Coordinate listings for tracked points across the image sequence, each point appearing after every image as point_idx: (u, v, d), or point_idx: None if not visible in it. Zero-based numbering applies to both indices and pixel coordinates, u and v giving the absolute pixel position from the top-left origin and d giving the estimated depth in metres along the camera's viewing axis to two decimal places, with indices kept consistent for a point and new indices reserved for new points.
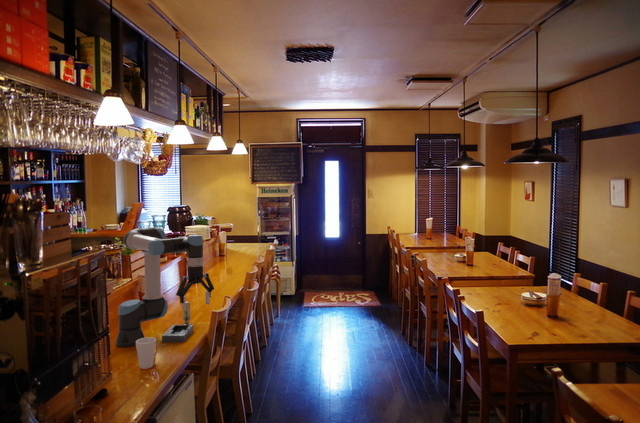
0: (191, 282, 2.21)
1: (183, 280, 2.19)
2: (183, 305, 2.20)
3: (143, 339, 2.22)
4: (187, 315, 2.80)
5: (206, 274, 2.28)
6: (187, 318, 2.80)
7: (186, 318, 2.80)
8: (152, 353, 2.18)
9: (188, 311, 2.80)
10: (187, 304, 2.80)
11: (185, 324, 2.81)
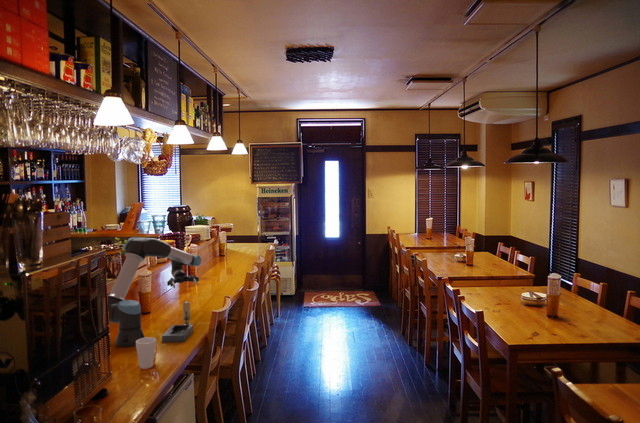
0: None
1: None
2: None
3: (143, 339, 2.22)
4: (187, 315, 2.80)
5: None
6: (187, 318, 2.80)
7: (186, 318, 2.80)
8: (152, 353, 2.18)
9: (188, 311, 2.80)
10: (187, 304, 2.80)
11: (185, 324, 2.81)
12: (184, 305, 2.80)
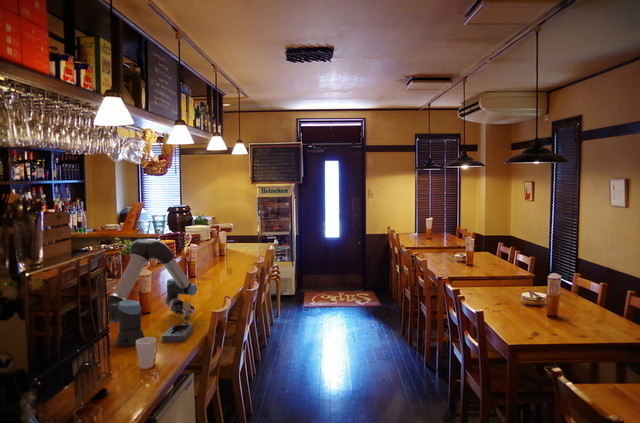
0: None
1: (190, 306, 2.93)
2: None
3: (143, 339, 2.22)
4: (187, 315, 2.80)
5: None
6: (187, 318, 2.80)
7: (186, 318, 2.80)
8: (152, 353, 2.18)
9: (188, 311, 2.80)
10: (187, 304, 2.80)
11: (185, 324, 2.81)
12: (184, 305, 2.80)
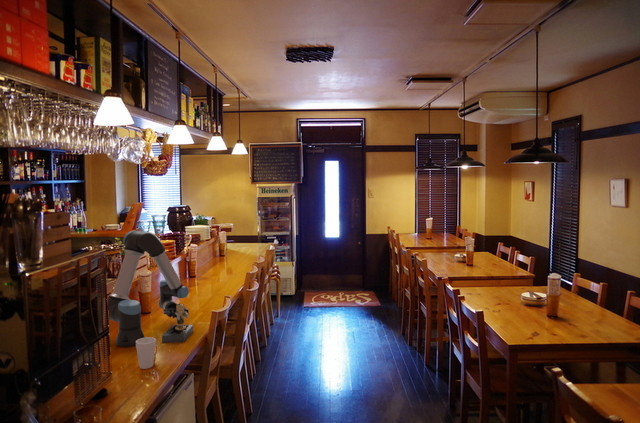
0: None
1: None
2: None
3: (143, 339, 2.22)
4: (181, 318, 2.64)
5: None
6: (181, 322, 2.64)
7: (180, 322, 2.64)
8: (152, 353, 2.18)
9: (182, 314, 2.64)
10: (181, 307, 2.64)
11: (179, 328, 2.65)
12: (178, 308, 2.64)
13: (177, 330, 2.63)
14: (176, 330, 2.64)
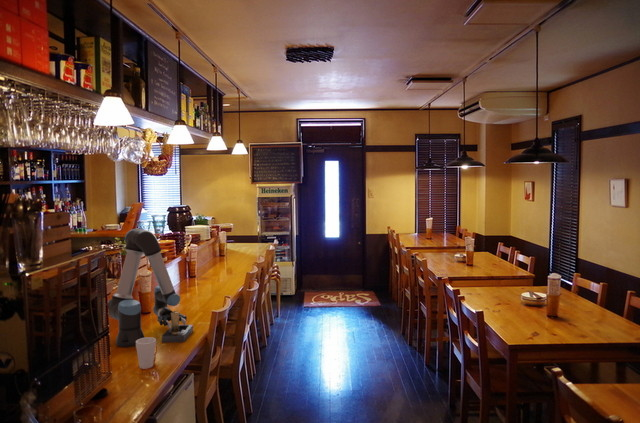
0: None
1: None
2: None
3: (143, 339, 2.22)
4: (176, 327, 2.55)
5: (159, 320, 2.63)
6: (176, 330, 2.55)
7: (175, 330, 2.55)
8: (152, 353, 2.18)
9: (177, 322, 2.55)
10: (176, 314, 2.54)
11: None
12: (172, 316, 2.54)
13: None
14: None
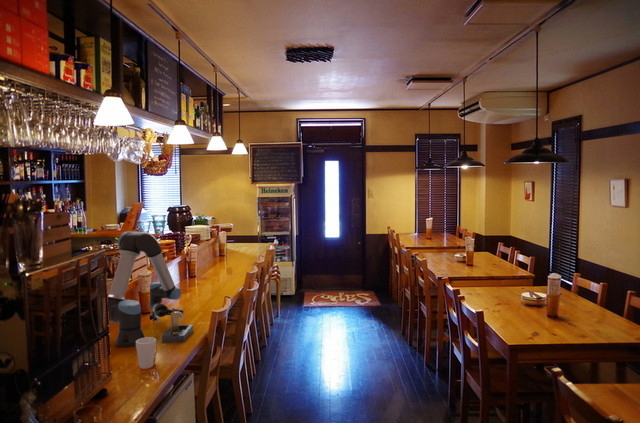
0: (169, 314, 2.76)
1: None
2: None
3: (143, 339, 2.22)
4: (176, 327, 2.55)
5: (153, 315, 2.73)
6: (176, 330, 2.55)
7: (174, 330, 2.55)
8: (152, 353, 2.18)
9: (177, 322, 2.55)
10: (175, 314, 2.54)
11: None
12: (172, 316, 2.54)
13: None
14: None
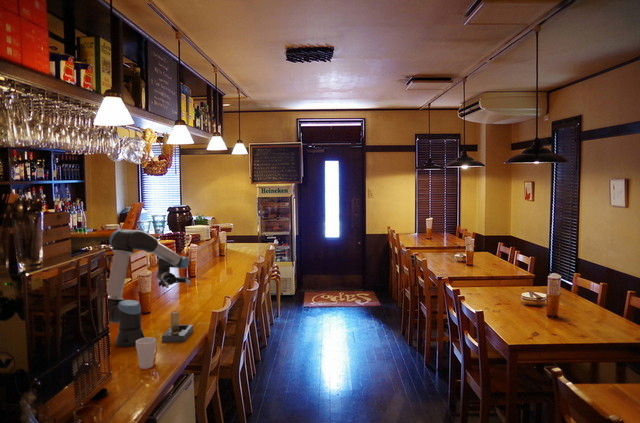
0: (177, 282, 2.86)
1: None
2: None
3: (143, 339, 2.22)
4: (175, 326, 2.55)
5: None
6: (175, 330, 2.55)
7: (174, 330, 2.55)
8: (152, 353, 2.18)
9: (177, 322, 2.55)
10: (175, 314, 2.54)
11: None
12: (172, 315, 2.54)
13: None
14: None
